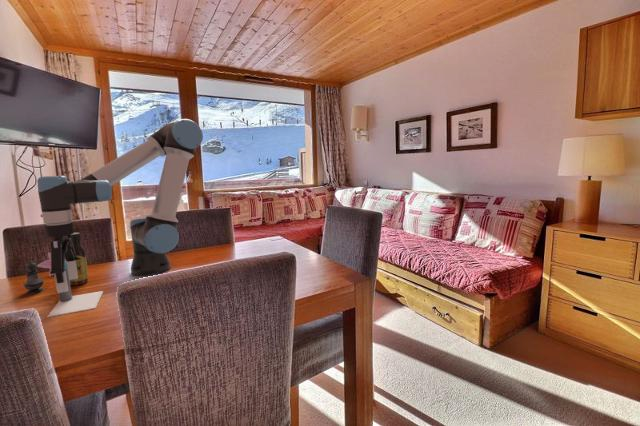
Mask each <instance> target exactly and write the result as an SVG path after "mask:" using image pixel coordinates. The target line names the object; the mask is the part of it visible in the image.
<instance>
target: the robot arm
mask: <svg viewBox="0 0 640 426" xmlns="http://www.w3.org/2000/svg"><path fill="white" fill-rule="evenodd" d="M203 139H204V133H203V130H202V128H201V127H200V126H199V124H197V122H195V121H194V120H191V119H190V118H189V119H188V118H180V119H177V120H175V121H172V122H167V123H166V124H164V125H163V126H162V127H160V128H159V129H158V130H156V131H155V132H154V133H152V134H151V135H149V136H148V137H147V140H146V141H144V142H142V143H140V144H139V145H137V146H135V147H133V148H132V149H130V150H128V151H126V152H125V153H123V154H122V155H120V156H118V157H117V158H115V159H114V160H111V161H110V162H108V163H106V164H105V165H104V166H101V167H100V168H98V169H97V170H94V171H93V172H91V173H90V174H88V175H86V176H84V177H82V178H81V179H78V180H76V181H69V180H68V177H67V176H65V175H52V176H51V175H49V176H40V177H38V178H37V181H36V182H37V183H36V184H37V192H38V198H39V203H40V209H41V214H40V215H39V216H40V218H42V221H43V224H44V226H43V228H44V235H45V236H46V237H47V238H53V241H50V253H51V271H50V270H49V271H50V274H53V275H54V281H55V287H56V293H57V294H59V293H61V292H67V291H68V284H67V278H66V272H65V271H64V264H65V259H66V261H68V262H67V265H68V274H69V280H72V279H78V274H77V268H76V261H74V260H78V257H76V256H77V255H76V253H75V249H74V246H73V243H72V239H71V234H73V233H76V232H75V226H74V223H73V220H74V218H73V210H72V205H75V204H84V203H85V204H87V203H88V204H89V203H102V202H107V201H111V200H112V197H113V189H112V186H113V185H116V184H117V183H119V182H120V181H122V180H123V179H125V178H127V177H128V176H130V175H131V174H133V173H134V172H136V171H138V170H139V169H141V168H143V167H144V166H146V165H147V164H149V163H151V162H152V161H154V160H156V159H157V158H159V157H165V159H164V161H163V162H164V163H163V167H162V171H161V175H160V178H159V182H158V188H157V191H156V195H155V200H154V203H153V207H152V211H151V212H150V213H148V214H147V215H146V217H141V218H133V219H131V220H130V225H129V229H130V233H131V243H132V249H133V258H132V261H131V267H130V273H131V275H134V276H151V275H155V274H156V275H157V274H159V273H164V272H166V271H168V270H169V269H170V268H171V261H170V259H169V257H168V256H167V253H168V252H170V251H172V250H173V249H174V248H176V246H177V245H178V243H179V241H180V239H179V238H180V234H179V232H178V225H179V220H178V219H177V217H176V215H177V213H178V209H179V208H178V207H179V204H180V199H181V195H182V191H183V186H184V183H185V179H186V175H187V170H188V167H189V162H190V160H191V159H192V158H194V157H195V154H196V150H197V148H198V147H200V146H201V144H202V142H203ZM57 268H58V269H57Z"/></svg>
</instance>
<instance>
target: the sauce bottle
mask: <svg viewBox="0 0 640 426" xmlns="http://www.w3.org/2000/svg"><path fill="white" fill-rule="evenodd" d="M81 237H82V236H81V233H80V232H74V233H73V234H71V239H72V243H73V246H74V249H75V253H76V255H77V256H76V257H78V260H74V261H76V268H77V274H78V279H72V280H70V286H79V285H82V284H85V283H88V280H89V279H88V278H89V274H88V261H87V255H86V249H85V247H84V246H83V245H82V242H81ZM67 262H68V261H67Z"/></svg>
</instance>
